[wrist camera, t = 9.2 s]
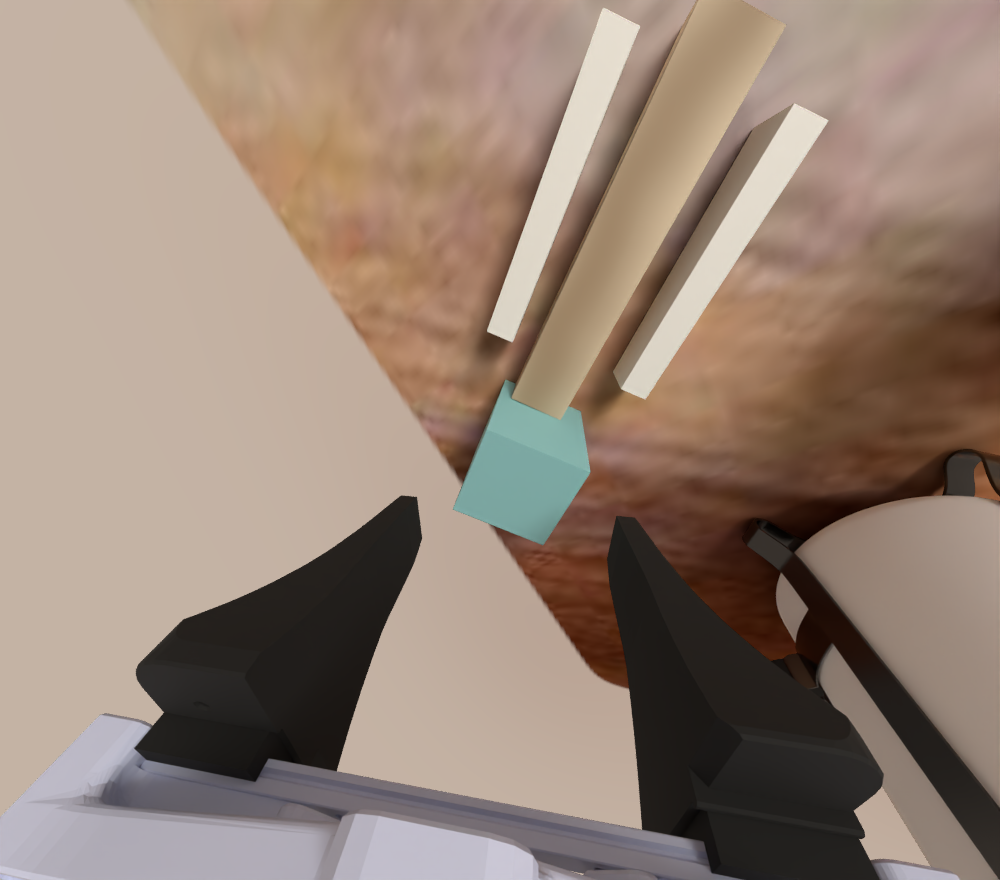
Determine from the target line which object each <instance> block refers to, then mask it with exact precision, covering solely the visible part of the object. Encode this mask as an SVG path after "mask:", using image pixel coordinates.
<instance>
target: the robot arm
mask: <svg viewBox="0 0 1000 880" xmlns="http://www.w3.org/2000/svg"><path fill="white" fill-rule="evenodd" d="M421 540H422V534H421V526H420V518H419V510H418V502H417V497H411V496H400V497H399V498H397V499H396V500H395V501H394V502H393V503H391V504H390V505H389V506H387V507H386V508H385V509H384V510H382V511H381V512H380V513H379V514H378V515H376V516H375V517H374V518H373V519H371V520H370V521H369V522H367V523H366V524H365V525H364V526H362V527H361V528H360V529H358V530H357V531H356V532H354V533H353V534H351V535H350V536H349V537H347V538H346V539H344V540H343V541H342V542H340V543H339V544H337V545H336V546H335V547H333V548H332V549H330V550H329V551H327V552H326V553H324V554H322V555H321V556H319V557H318V558H316V559H314V560H313V561H311V562H309V563H308V564H306V565H304V566H302V567H301V568H299V569H297V570H295V571H293V572H291V573H289V574H287V575H286V576H284V577H282V578H280V579H278V580H276V581H274V582H272V583H270V584H268V585H266V586H264V587H262V588H260V589H258V590H255V591H253V592H251V593H249V594H247V595H244V596H242V597H240V598H238V599H235V600H233V601H231V602H228V603H226V604H223V605H221V606H218V607H215V608H213V609H210V610H207V611H205V612H202V613H200V614H197V615H194V616H192V617H189V618H186V619H184V620H182V622H180V623H179V624H178V625H177V626H176V627H175V628H174V629H173V630H172V631H171V632H170V633H169V634H168V635H167V636H166V637H165V638H164V639H163V640H162V642H160V644H158V645H157V646H156V647H155V648H154V649H153V650H152V651H151V652H150V653H149V654H148V655H147V656H146V657H145V658H144V659H143V660H142V661H141V662H140V663H139V664H138V666H137V669H136V676H137V680H138V682H139V683H140V685H141V686H142V688H143V689H144V690H145V691H146V692H147V693H148V695H149V696H150V697H151V698H152V699H153V700H154V701H155V703H156V704H157V705H158V706H159V707H160V708H161V709H162V711H163V712H164V713H163V715H162V716H161V717H160V718H159V719H158V721H157V722H156V723H155V724H154V725H153V726H152V725H151V724H149V723H147V722H145V721H142V720H139V719H134V718H128V717H123V716H117V715H112V714H107V713H105V714H101V715H99V716H98V717H97V718H96V719H95V721H94V722H93V723H92V724H91V725H90V726H89V727H88V728H87V729H86V730H85V731H84V732H83V733H82V734H81V735H80V736H79V737H78V738H77V739H76V740H75V741H74V742H73V743H72V744H71V745H70V746H69V747H68V748H67V749H66V750H65V751H64V752H63V753H62V754H61V755H60V756H59V757H58V759H56V761H55V762H54V763H53V764H52V765H51V766H50V767H49V768H48V769H47V770H46V771H45V772H44V773H43V774H42V775H41V776H40V777H39V778H38V779H37V780H36V781H35V782H34V783H33V784H32V785H31V786H30V787H29V788H28V789H27V790H26V791H25V792H24V793H23V794H22V795H21V796H20V797H19V798H18V799H17V801H16V802H15V803H14V804H13V805H12V806H11V807H10V808H9V809H8V810H7V811H6V812H5V813H4V814H3V815H2V816H1V817H0V880H960V879H959V877H958V876H957V875H956V874H954V873H953V872H951V871H950V870H946V869H940V868H935V867H930V866H924V865H919V864H914V863H908V862H902V861H897V860H890V859H875V860H871V861H870V859H869V857H868V855H867V854H866V851H865V850H864V848H863V846H862V844H861V842H860V840H859V839H863V838H864V837H865V832H864V830H863V828H862V826H861V824H860V822H859V820H858V818H857V816H856V815H855V813H854V810H855V809H856V808H858V807H859V806H860V805H862V804H863V803H864V802H865V801H867V800H868V799H869V798H870V797H872V796H873V795H874V794H876V792H877V791H878V790H879V789H880V788H881V787H882V784H883V778H884V774H883V772H882V770H881V768H880V767H879V765H878V763H877V762H876V760H875V758H874V757H873V755H872V754H871V752H870V750H869V749H868V747H867V745H866V744H865V742H864V740H863V739H862V737H861V736H860V734H859V733H858V731H857V730H856V728H855V727H854V726H853V724H852V723H851V721H850V720H849V718H848V717H847V716H846V715H844V714H843V713H842V712H840V711H839V710H837V709H836V708H834V707H833V706H832V705H830V704H829V703H827V702H826V701H824V700H823V699H822V698H820V697H819V696H817V695H816V694H814V693H813V692H811V691H810V690H809V689H807V688H806V687H804V686H803V685H801V684H800V683H799V682H797V681H796V680H795V679H793V678H792V677H791V676H789V675H788V674H787V673H785V672H784V671H783V670H781V669H780V668H779V667H778V666H776V665H775V664H774V663H772V662H771V661H770V660H768V659H767V658H766V657H765V656H763V655H762V654H761V653H760V652H759V651H757V650H756V649H755V648H754V647H752V646H751V645H750V644H749V643H748V642H747V641H745V640H744V639H743V638H742V637H741V636H740V635H738V634H737V633H736V632H735V631H734V630H733V629H732V628H730V627H729V626H728V625H727V624H726V623H725V622H724V621H723V620H722V619H721V618H720V617H719V616H718V615H716V614H715V613H714V612H713V611H712V610H711V609H710V608H709V607H708V606H707V605H706V604H705V603H704V602H703V601H702V600H701V599H700V598H699V597H698V596H697V595H696V594H695V592H694V591H693V590H692V589H691V588H690V587H689V586H688V585H687V584H686V582H685V581H684V580H683V579H682V578H681V577H680V576H679V574H678V573H677V572H676V571H675V570H674V568H673V567H672V566H671V565H670V563H669V562H668V561H667V560H666V559H665V557H664V556H663V555H662V554H661V552H660V551H659V550H658V548H657V547H656V546H655V544H654V543H653V542H652V540H651V539H650V538H649V536H648V535H647V534H646V532H645V531H644V529H643V528H642V527H641V525H640V524H639V522H638V521H637V520H636V519H635V518H632V517H622V516H616V521H615V525H614V530H613V534H612V539H611V544H610V548H609V553H608V557H607V561H608V573H609V583H610V590H611V594H612V599H613V604H614V608H615V613H616V618H617V622H618V627H619V631H620V636H621V641H622V645H623V650H624V655H625V661H626V666H627V675H628V683H629V691H630V699H631V708H632V718H633V727H634V736H635V748H636V758H637V769H638V780H639V793H640V806H641V819H642V830H641V829H635V828H630V827H625V826H620V825H614V824H609V823H604V822H599V821H594V820H588V819H583V818H578V817H573V816H567V815H562V814H557V813H552V812H547V811H541V810H536V809H531V808H526V807H520V806H515V805H510V804H505V803H499V802H494V801H489V800H484V799H479V798H473V797H468V796H463V795H458V794H452V793H447V792H442V791H437V790H431V789H426V788H421V787H416V786H411V785H405V784H400V783H394V782H389V781H384V780H379V779H374V778H369V777H363V776H358V775H353V774H347V773H342V772H337V768H338V764H339V761H340V757H341V754H342V751H343V747H344V744H345V740H346V737H347V734H348V730H349V727H350V724H351V720H352V717H353V714H354V711H355V708H356V705H357V702H358V699H359V696H360V692H361V689H362V687H363V684H364V680H365V678H366V675H367V672H368V669H369V666H370V663H371V660H372V657H373V655H374V652H375V649H376V646H377V644H378V641H379V638H380V636H381V633H382V630H383V628H384V626H385V623H386V621H387V619H388V616H389V614H390V613H391V611H392V609H393V606H394V604H395V602H396V600H397V598H398V596H399V594H400V592H401V590H402V588H403V585H404V584H405V581H406V579H407V577H408V575H409V573H410V571H411V569H412V566H413V564H414V562H415V558H416V555H417V553H418V550H419V546H420V543H421ZM568 870H569V871H568ZM571 871H574V872H578V873H584V875H580V874H577V873H574V872H571Z"/></svg>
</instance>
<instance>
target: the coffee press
mask: <svg viewBox="0 0 1000 880" xmlns="http://www.w3.org/2000/svg"><path fill="white" fill-rule="evenodd" d="M980 461H982V462H983V465H984V468H985V471H986V474H987V477H988V479H989V482H990V484H991V486H992V487H993V489H994V490H995V492H996V493H997V494H998V495H999V496H1000V456H999V455H995V454H990V453H986V452H981V451H976V450H972V449H962V450H958V451H956V452H954V453H952V454H950V455H949V456H948V457H947V459H946V460H945V462H944V481H945V485H944V491H943V494H942V496H926V497H916V498H909V499H903V500H898V501H893V502H888V503H884V504H880V505H877V506H873V507H870V508H867V509H864V510H861V511H859V512H856V513H854V514H851V515H849V516H846V517H844V518H842V519H840V520H838V521H836V522H834V523H832V524H830V525H829V526H827V527H825V528H824V529H822V530H821V531H819V532H818V533H816V534H815V535H813V536H812V537H811V538H809V539H808V540H807V541H806V540H803V539H801V538H798V537H796V536H794V535H792V534H791V533H789V532H787V531H785V530H784V529H782V528H780V527H778V526H777V525H775V524H773V523H771V522H769V521H767V520H764V519H760V518H756V519H754V521H753V522H752V524H751V525H750V526H749V528H748V529H747V530H746V532H745V533H744V535H743V536H742V539H743V541H744V543H745V544H746V545H747V546H748V547H750V548H751V549H752V550H754V551H755V552H756V553H758V554H759V555H761V556H762V557H763V558H765V559H766V560H767V561H769V562H770V563H771V564H772V565H773V566H775V567H776V568H777V569H778V570H779V571H780V572H781V574H780V577H779V580H778V583H777V588H776V602H777V608H778V611H779V614H780V616H781V618H782V620H783V622H784V624H785V626H786V628H787V630H788V631H789V633H790V635H791V636H792V638H793V640H794V642H795V643H796V652H797V653H796V654H791V655H787V656H786V657H785V658H783V659H778V660H773V661H771V662H772V663H774V664H775V665H776V666H778V667H779V668H780V669H781V670H783V671H784V672H785V673H787V674H788V675H789V676H791V677H792V678H793V679H795V680H796V681H797V682H799V683H800V684H801V685H803V686H804V687H806V688H807V689H809V690H810V691H811V692H813V693H814V694H816V695H817V696H819V697H820V698H822V699H823V700H824V701H826V702H827V703H829V704H830V705H832V706H833V707H834V708H836V709H837V710H839V711H840V712H842V713H843V714H844V715H846V716H847V717H848V718H849V720H850V721H851V723H852V724H853V726H854V727H855V728H856V730H857V731H858V733H859V734H860V736H861V737H862V739H863V740H864V742H865V744H866V745H867V747H868V749H869V750H870V752H871V754H872V755H873V757H874V758H875V760H876V762H877V763H878V765H879V767H880V768H881V770H882V772H883V774H884V778H883V784H882V787H883V788H884V790H885V792H886V793H887V795H888V797H889V798H890V800H891V802H892V803H893V805H894V807H895V808H896V810H897V812H898V813H899V815H900V816H901V818H902V820H903V821H904V823H905V824H906V826H907V828H908V829H909V831H910V833H911V835H912V836H913V838H914V839H915V841H916V843H917V844H918V846H919V848H920V849H921V851H922V853H923V854H924V856H925V858H926V859H927V861H928V863H929V864H930V866H931V867H935V868H940V869H946V870H950V871H951V872H953V873H954V874H956V875H957V876H958V877H959V879H960V880H1000V501H997V500H992V499H986V498H979V497H974V495H975V482H974V468H975V466H976V465H977V464H978V463H979V462H980Z"/></svg>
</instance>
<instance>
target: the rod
mask: <svg viewBox="0 0 1000 880" xmlns="http://www.w3.org/2000/svg"><path fill="white" fill-rule="evenodd" d="M785 26H786V25H785V24H783V23H782V22H780V21H778V20H776V19H774V18H773V17H771V16H769V15H767V14H766V13H764V12H762V11H760V10H758V9H757V8H755V7H753V6H751V5H749V4H748V3H746V2H744V1H742V0H696V2H695V4H694V6H693V8H692V9H691V11H690V13H689V15H688V17H687V18H686V20H685V22H684V24H683V26H682V28H681V30H680V32H679V34H678V36H677V39H676V41H675V43H674V45H673V47H672V49H671V51H670V54H669V56H668V58H667V60H666V62H665V64H664V66H663V69H662V71H661V73H660V75H659V77H658V79H657V81H656V84H655V86H654V88H653V90H652V92H651V94H650V97H649V99H648V101H647V103H646V105H645V107H644V109H643V112H642V114H641V116H640V118H639V120H638V122H637V124H636V127H635V129H634V131H633V133H632V135H631V137H630V139H629V142H628V144H627V146H626V148H625V150H624V152H623V154H622V157H621V159H620V161H619V163H618V165H617V167H616V169H615V172H614V174H613V176H612V178H611V180H610V182H609V185H608V187H607V189H606V191H605V193H604V195H603V197H602V200H601V202H600V204H599V206H598V208H597V210H596V212H595V215H594V217H593V219H592V221H591V223H590V225H589V227H588V230H587V232H586V234H585V236H584V238H583V240H582V242H581V245H580V247H579V249H578V251H577V253H576V255H575V257H574V260H573V262H572V264H571V266H570V268H569V270H568V273H567V275H566V277H565V279H564V281H563V283H562V285H561V288H560V290H559V292H558V294H557V296H556V298H555V300H554V303H553V305H552V307H551V309H550V311H549V313H548V315H547V318H546V320H545V322H544V324H543V326H542V328H541V330H540V333H539V335H538V337H537V339H536V341H535V343H534V345H533V348H532V350H531V352H530V354H529V356H528V358H527V361H526V363H525V365H524V367H523V369H522V371H521V373H520V376H519V378H518V380H517V382H516V385H515V388H514V391H513V394H512V397H511V398H512V399H514V400H517V401H519V402H521V403H523V404H525V405H528V406H530V407H532V408H534V409H537V410H539V411H541V412H543V413H545V414H548V415H550V416H552V417H554V418H557V419H559V420H561V418H562V417H563V415H564V413H565V411H566V410H567V408H568V406H569V404H570V403H571V401H572V399H573V397H574V396H575V394H576V392H577V390H578V389H579V387H580V385H581V383H582V382H583V380H584V378H585V376H586V375H587V373H588V371H589V369H590V368H591V366H592V364H593V362H594V361H595V359H596V357H597V355H598V354H599V352H600V350H601V348H602V347H603V345H604V343H605V341H606V340H607V338H608V336H609V334H610V333H611V331H612V329H613V327H614V326H615V324H616V322H617V320H618V319H619V317H620V315H621V313H622V312H623V310H624V308H625V306H626V305H627V303H628V301H629V299H630V298H631V296H632V294H633V292H634V291H635V289H636V287H637V285H638V284H639V282H640V280H641V278H642V277H643V275H644V273H645V271H646V270H647V268H648V266H649V264H650V263H651V261H652V259H653V257H654V256H655V254H656V252H657V250H658V249H659V247H660V245H661V243H662V242H663V240H664V238H665V236H666V235H667V233H668V231H669V229H670V228H671V226H672V224H673V222H674V221H675V219H676V217H677V215H678V214H679V212H680V210H681V208H682V207H683V205H684V203H685V201H686V200H687V198H688V196H689V194H690V193H691V191H692V189H693V187H694V186H695V184H696V182H697V180H698V179H699V177H700V175H701V173H702V172H703V170H704V168H705V166H706V165H707V163H708V161H709V159H710V158H711V156H712V154H713V152H714V151H715V149H716V147H717V145H718V144H719V142H720V140H721V138H722V137H723V135H724V133H725V131H726V130H727V128H728V126H729V124H730V123H731V121H732V119H733V117H734V116H735V114H736V112H737V110H738V109H739V107H740V105H741V103H742V102H743V100H744V98H745V96H746V95H747V93H748V91H749V89H750V88H751V86H752V84H753V82H754V81H755V79H756V77H757V75H758V74H759V72H760V70H761V68H762V67H763V65H764V63H765V61H766V60H767V58H768V56H769V54H770V53H771V51H772V49H773V47H774V46H775V44H776V42H777V40H778V39H779V37H780V35H781V33H782V32H783V30H784V28H785Z"/></svg>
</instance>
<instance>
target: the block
mask: <svg viewBox="0 0 1000 880" xmlns="http://www.w3.org/2000/svg"><path fill="white" fill-rule="evenodd" d="M515 385H516V384H515V383H513V382H510V381H508V380H505V382H504V384H503V387H502V389H501V392H500V394H499V396H498V399H497V401H496V404H495V406H494V408H493V411H492V413H491V415H490V418H489V420H488V423H487V425H486V427H485V430H484V432H483V434H482V437H481V439H480V442H479V444H478V446H477V449H476V452H475V454H474V457H473V459H472V462H471V464H470V467H469V469H468V472H467V475H466V477H465V480H464V482H463V485H462V487H461V490H460V493H459V495H458V498H457V500H456V503H455V505H454V508H453V510H456V511H458V512H461V513H463V514H466V515H468V516H471V517H473V518H476V519H478V520H481V521H483V522H486V523H488V524H491V525H493V526H496V527H499V528H501V529H504V530H506V531H509V532H511V533H514V534H516V535H519V536H521V537H524V538H526V539H529V540H531V541H534V542H536V543H539V544H541V545H544V543H545V542H546V540H547V539H548V537H549V535H550V534H551V532H552V531H553V529H554V528H555V526H556V525H557V523H558V522H559V520H560V518H561V517H562V515H563V514H564V512H565V511H566V509H567V508H568V506H569V505H570V503H571V502H572V500H573V498H574V497H575V495H576V494H577V492H578V491H579V489H580V488H581V486H582V485H583V483H584V481H585V480H586V478H587V477H588V475H589V474H590V467H589V460H588V454H587V448H586V442H585V435H584V429H583V423H582V417H581V411H579V410H576V409H574V408H572V407H569V406H568V408H567V410H566V411H565V413H564V415H563V417H562V418H561V420H559V419H557V418H554V417H552V416H550V415H548V414H545V413H543V412H541V411H539V410H537V409H534V408H532V407H530V406H528V405H525V404H523V403H521V402H519V401H517V400H514V399H512V398H511V397H512V394H513V391H514V388H515Z"/></svg>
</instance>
